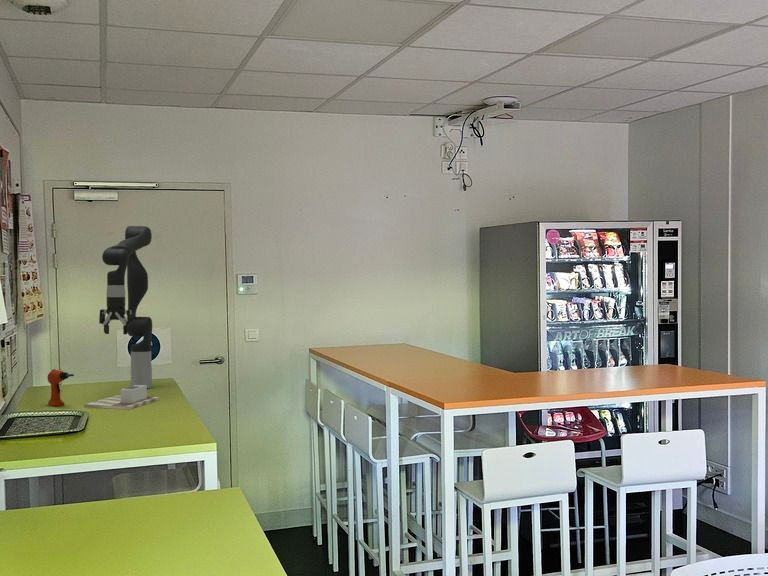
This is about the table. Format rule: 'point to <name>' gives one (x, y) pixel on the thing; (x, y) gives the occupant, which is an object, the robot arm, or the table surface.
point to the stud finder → (133, 394)
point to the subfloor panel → (119, 403)
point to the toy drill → (56, 386)
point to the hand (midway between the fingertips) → (116, 334)
